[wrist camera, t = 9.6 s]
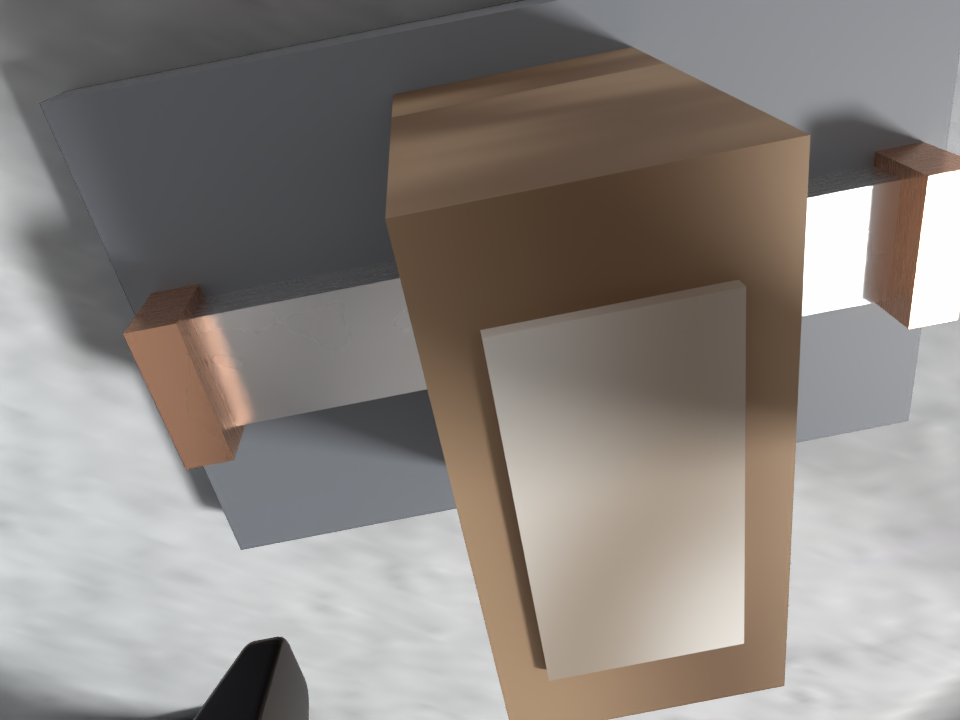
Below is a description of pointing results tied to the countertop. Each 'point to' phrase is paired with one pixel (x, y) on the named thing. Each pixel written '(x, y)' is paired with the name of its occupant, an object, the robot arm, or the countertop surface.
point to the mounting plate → (363, 192)
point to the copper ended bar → (390, 339)
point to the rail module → (610, 370)
